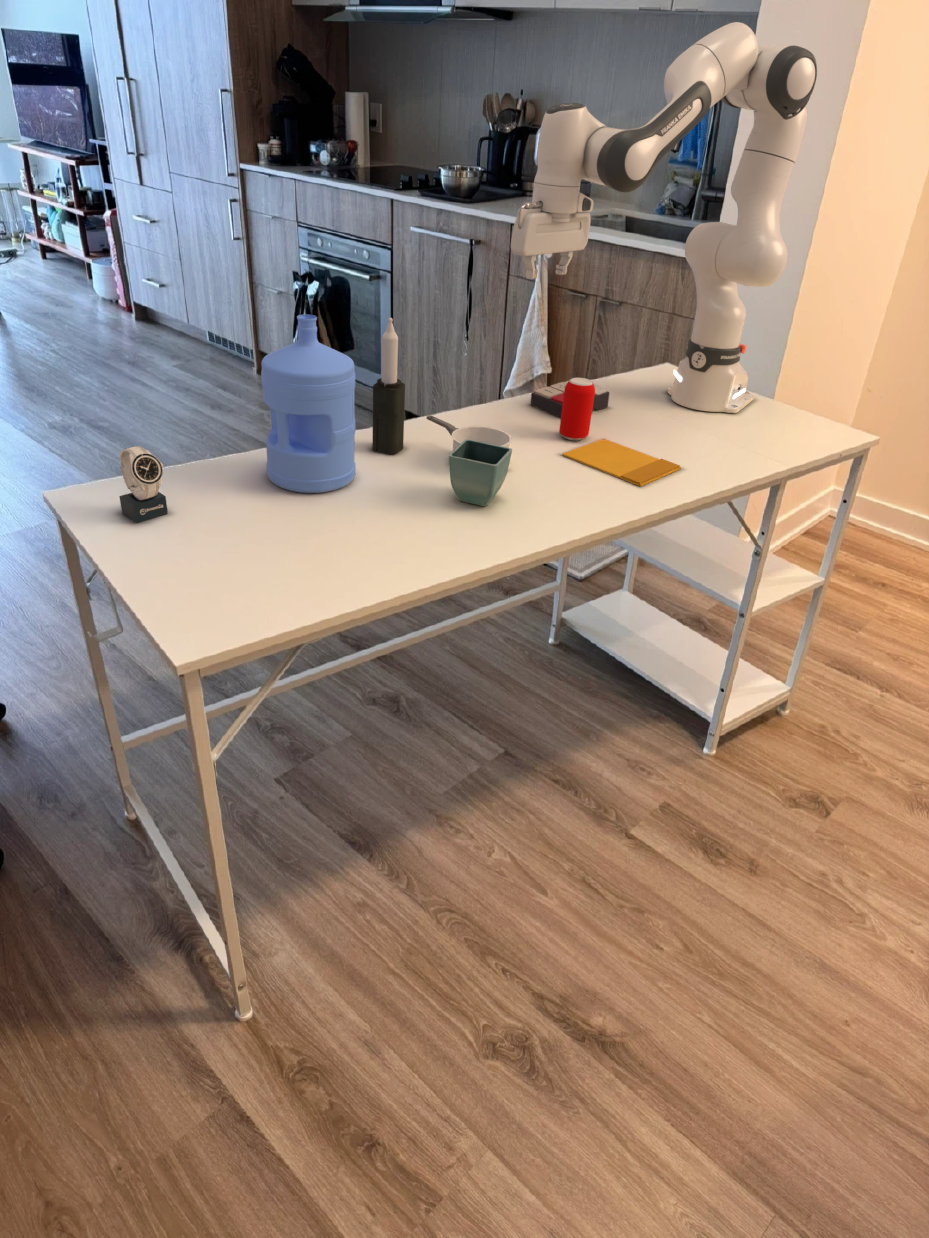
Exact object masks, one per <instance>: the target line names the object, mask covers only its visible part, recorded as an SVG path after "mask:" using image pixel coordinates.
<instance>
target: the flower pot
mask: <svg viewBox="0 0 929 1238" xmlns="http://www.w3.org/2000/svg"><path fill="white" fill-rule="evenodd" d="M512 452H513V449H512V448H511V447H509V448H507V447H502V446H497V445H492V444H487V443H483V442H479V441H474V440H468V439H465V440H464V441H463V442H462V443H461V444H460V445H459V446H458V447H457V448H456V449H455V450H454V451H453V450H452V451H451V452H449V454H448V469H449V480H450V484H451V488H452V491H453V493H454V495H455V496H456V498H457V499H458V501H459V502H463V503H466V504H467V503H468V504H472V505H476V506H480V507H487V506H488V505H489V504H490V503H491V501H493V499H494V498H495V496H496V495H497V494H498V492H499V491H500V490H501V488H502V486H503V484H504V483H505V480H506V478H507V474H508V471H509V466H510V462H511V458H512Z"/></svg>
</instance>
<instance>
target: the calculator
mask: <svg viewBox="0 0 929 1238" xmlns="http://www.w3.org/2000/svg"><path fill="white" fill-rule="evenodd" d="M568 381H569V380H567V381H561V382H557V383H554V384H551V385H549V386H545V387H542V388H539V389H535V390H533V392H531V394H530V406H531V407H534V408H536V409H538V410H541V411H544V412H546V413H549V414H551V415H552V416H556V417H558V418H561V413H562V406H563V398H564V391H565V386H566V384H567V383H568ZM594 387H595V396H594V402H593V409H592V411H593V410H596V411H600V410H603V409H606V408H608V407H609V401H610V391H608V390H607V389H604V388H602V387H599V386H596V385H594Z"/></svg>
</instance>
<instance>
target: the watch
mask: <svg viewBox="0 0 929 1238" xmlns="http://www.w3.org/2000/svg"><path fill="white" fill-rule="evenodd" d="M119 463H120V466H119V469H120V472H121V475H122V477H123V480H124V483H125V485H126V487H127V489H128V490H129V491H130V492H129V493H125V494H122V495H119V503H120V509H121V514H122V515H123V516H125V517H126V518H127V519H128V520H131V522H133V523H134V524H139V523H142V522H145V521H148V520H152V519H156V518H158V517H161V516H165V515H168V514H169V512H168V505H167V497H166V495H165V494H163V493H161V492H160V486H162V478H163V475H164V468H165V467H164V464H163V463H162V462H161V461H160V460H159V459H158V457H156V456H155V455H154V454H153V453H151V451H149V450H148V449H145V448H144V447H142V446H140V445H135V446H132V447H127V448H123V449H121V451H120V453H119Z"/></svg>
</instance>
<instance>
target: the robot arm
mask: <svg viewBox="0 0 929 1238" xmlns="http://www.w3.org/2000/svg"><path fill="white" fill-rule="evenodd" d="M817 77H818V65H817V60H816V57H815V55H814V54H813V52H811V51H810V50H809V49H807V48H804V47H802V46H799V45H794V44H793V45H783V44H766V45H759V42H758V39H757V35H756V34H755V33H754V31H753V30H752V28H751V27H750V26H748V25H747V24H745V23H744V22H739V21H734V22H730V23H727V24H725V25H723V26H721V27H719V28H717V29H715V30H713V31H712V32H710V33H708V34H706V35H705V36H703V37H701V38H700V39H699V40H698V41H696V42H695V43H693V44H692V45H690V47H688V48H687V49H686V50H684V51H682V53H680V55H678V56H677V57H676V58H675V59H674V60H673V62H672V63H671V64H669V66H668V67H667V69H666V71H665V73H664V78H663V94H664V99H665V102H666V106H665V107H663V108H662V109H661V110H660V111H659V112H657V114H655V115H654V117H652V118H650V120H649V121H648V122H647V123H646V124H644V125H643V126H640V127H637V128H630V129H629V128H628V129H621V128H615V127H612V126H611V127H609V126H607V125H606V124H604V123H602V122H601V121H600V120H599V119H597V118H596V117H594V115H592V114H591V112H590V111H589V110H588V108H587V106H586V105H585V104H583V103H579V102H571V103H569V102H565V103H558V104H554V105H552V106H550V107H549V108H548V109H546V111H545V113H544V115H543V118H542V121H541V124H540V130H539V136H538V141H537V142H538V143H537V152H536V161H537V169H536V174H535V176H534V180H533V188H532V198H531V201H526V202H524V203H523V204H522V205H521V207H520V208H518V211H517V215H516V217H515V220H514V225H513V229H512V235H511V241H510V250H511V252H512V254H513V255H517V256H521V257H522V261H523V263H524V267H525V278H526V279H527V280H535V279H537V278H538V271H539V270H538V269H536V265H535V262H536V261H537V256H539V255H548V254H549V255H550V254H558V253H560V256H561V257H560V260H559V262H558V264H555V272H554V273H555V274H556V275H557V276H565V275H566V274H567V272H568V266H569V264H570V262H571V260H572V259H573V256H574V252H576V251H583V250H585V248H586V246H587V245H588V241H589V236H590V231H591V230H590V229H591V219H592V218H591V214H590V212H593V209H594V204H595V203H594V200H593V199H592V198H590V197H589V196H587V195H585V194H584V193H582V192H581V191H580V190H581V183H582V181H585V182H588V183H589V182H590V183H593V184H596V185H599V186H604V187H608V188H610V189H612V190H614V191H617V192H619V193H630V192H633V191H636V190H637V189H639V188H640V187H641V186H643V184H644V183H645V182H646V181H647V180H648V178H649V177H650V176H651V174H652V173H653V172H654V169H655V168H656V166H657V165H658V164H659V162H660V161H661V160H662V159H663V157H665V155H666V154H668V153H669V152H670V151H671V150H672V149H673V148H674V147H675V146H676V145H677V144H679V142H681V140H683V139H684V138H685V137H686V136H687V135H689V133H690V132H691V131H692V130H693V129H694V128H695V127H696V126H697V125H698V124H699V123H700V122H701V121H703V119H704V118H705V117H706V116H707V114H708V112H709V111H710V109H711V108H712V107H713V106H714V105H716V104H717V103H719V101H721V102H722V103H724V104H725V105H727V106H729V107H731V108H735V109H744V110H749V111H753V125H752V129H751V131H750V133H749V135H748V138H747V140H746V143H745V145H744V148H743V151H742V153H741V157H740V160H739V162H738V165H737V167H736V171H735V174H734V176H733V180H732V183H731V186H730V194H731V197H732V199H733V200H734V201H735V203H736V206H737V219H736V220H737V221H736V224H731V223H727V222H722V221H709V222H702V223H700V224H698V225H696V226H695V227H694V228H693V229H692V230H691V231H690V233H689V235H688V236H687V238H686V241H685V246H684V256H685V257H684V258H685V260H686V262H687V263H688V265H689V267H690V269H691V272H692V275H693V279H694V284H695V292H696V305H695V306H696V308H695V313H694V314H695V315H694V320H693V326H692V331H691V336H690V338H689V339H688V341H687V344H686V349H685V357H684V358H683V359H681V360H680V361H679V363H678V366H677V370H676V369H673V371H672V372H673V373H672V374H673V375H674V376H675V378H674V380H673V384H672V386H670V387H668V388H667V391H666V392H667V394H668V395H670V399H671V400H672V401H673V402H674V403H676V404H678V405H679V406H682V407H685V408H687V409H692V410H697V411H702V412H710V413H711V412H713V413H715V412H717V413H729V414H738V412H740V411H741V410H743V408H745V407H746V406H747V405H749V404H750V403H751V402H753V401H754V400H755V395H754V394H753V393H751V392H749V391H747V386H748V381H749V374H748V373H747V371H746V370H745V369H744V367H743V366H742V364H741V362H740V360H741V354H742V355H743V354H745V353H746V351H747V349H748V347H747V344H743V343H740V342H741V340H742V339H741V338H742V335H743V331H744V326H745V321H746V317H747V309H746V306H745V304H744V303H743V302H742V300H741V298H740V295H739V290H738V284H739V285H742V286H745V287H753V288H754V287H757V288H760V287H769V286H771V285H773V284H775V283H776V282H777V280H779V279H780V278H781V276H782V275H783V273H784V272H785V270H786V267H787V264H788V258H789V256H788V253H789V252H788V248H787V245H786V243H785V241H784V239H783V236H782V232H781V210H782V204H783V201H784V197H785V193H786V190H787V188H788V184H789V181H790V178H791V176H792V174H793V170H794V169H795V165H796V162H797V159H798V157H799V154H800V150H801V147H802V144H803V140H804V136H805V131H806V127H807V122H808V110H807V107H806V106H807V105H808V103H809V101H810V99H811V96H812V94H813V92H814V89H815V86H816V81H817Z"/></svg>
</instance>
